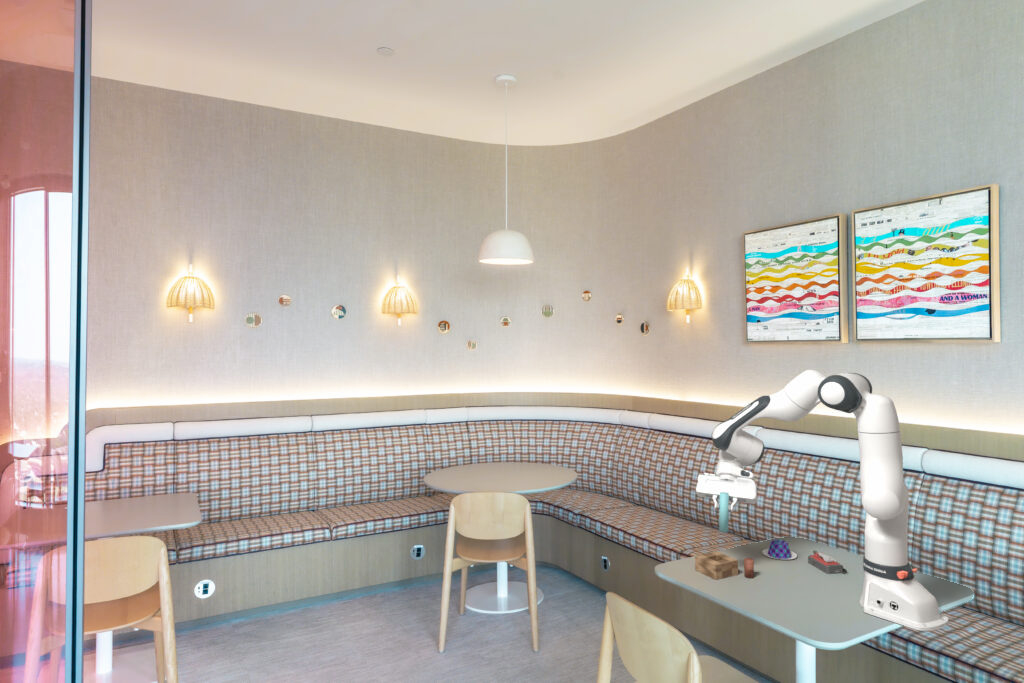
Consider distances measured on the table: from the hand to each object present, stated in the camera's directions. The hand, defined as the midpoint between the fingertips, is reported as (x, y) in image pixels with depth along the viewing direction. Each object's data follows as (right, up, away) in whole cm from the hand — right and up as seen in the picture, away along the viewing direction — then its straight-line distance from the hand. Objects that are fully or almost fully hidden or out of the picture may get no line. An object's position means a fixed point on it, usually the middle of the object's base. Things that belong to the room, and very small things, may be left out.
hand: (723, 509), depth 209 cm
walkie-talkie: (+39, -23, +9) cm, 46 cm away
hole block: (-1, -23, +3) cm, 23 cm away
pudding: (+28, -23, +19) cm, 41 cm away
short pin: (+8, -23, -1) cm, 24 cm away
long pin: (0, -7, +1) cm, 7 cm away
